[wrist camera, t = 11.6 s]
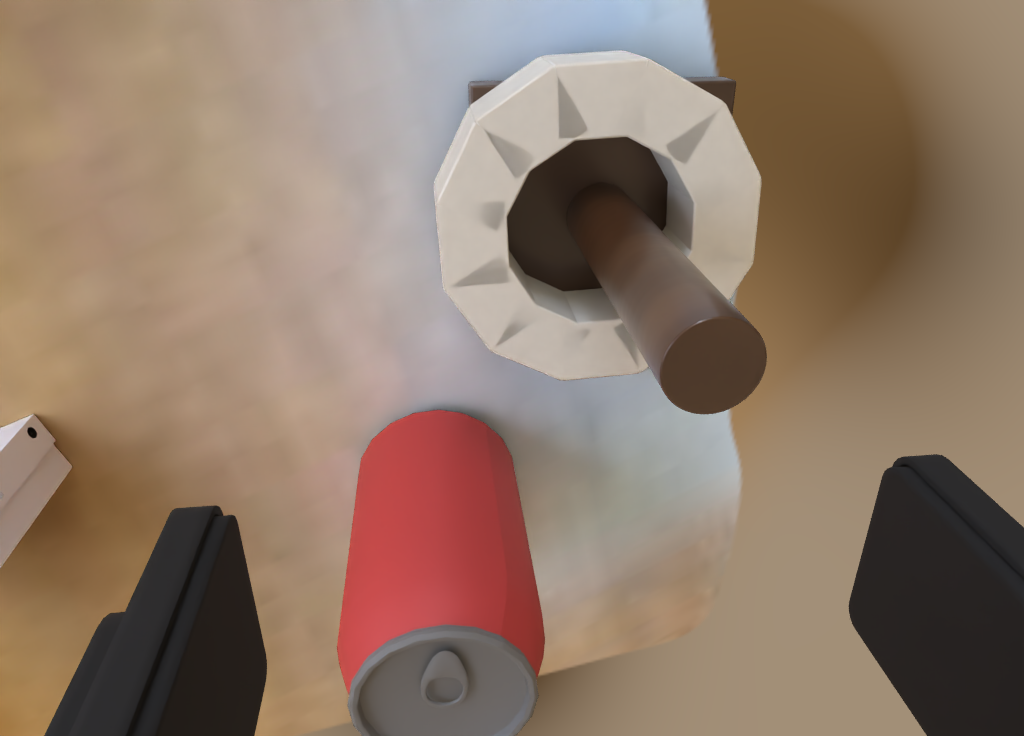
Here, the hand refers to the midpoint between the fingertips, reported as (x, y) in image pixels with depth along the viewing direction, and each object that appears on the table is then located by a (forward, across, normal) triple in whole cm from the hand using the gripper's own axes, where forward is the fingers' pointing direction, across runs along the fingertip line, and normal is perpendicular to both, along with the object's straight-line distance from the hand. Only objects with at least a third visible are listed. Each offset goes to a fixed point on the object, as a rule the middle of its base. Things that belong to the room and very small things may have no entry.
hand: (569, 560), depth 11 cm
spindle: (+19, -4, 0) cm, 19 cm away
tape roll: (+18, -4, 0) cm, 18 cm away
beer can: (+19, +2, +11) cm, 22 cm away
